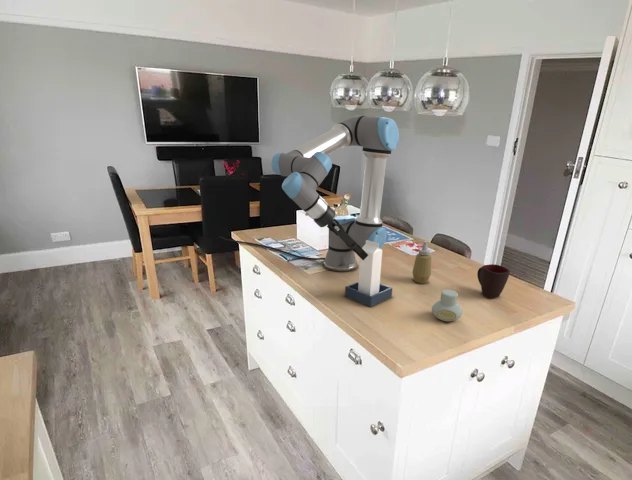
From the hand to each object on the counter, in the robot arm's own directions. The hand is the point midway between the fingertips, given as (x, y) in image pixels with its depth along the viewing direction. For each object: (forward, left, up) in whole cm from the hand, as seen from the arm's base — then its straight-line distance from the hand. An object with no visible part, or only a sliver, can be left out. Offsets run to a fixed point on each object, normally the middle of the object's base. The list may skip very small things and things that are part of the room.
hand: (359, 251), depth 155 cm
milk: (+3, +4, -18) cm, 19 cm away
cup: (+35, +44, -19) cm, 59 cm away
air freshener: (+34, +11, -19) cm, 40 cm away
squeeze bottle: (+8, +34, -19) cm, 40 cm away
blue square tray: (+3, +4, -19) cm, 20 cm away
